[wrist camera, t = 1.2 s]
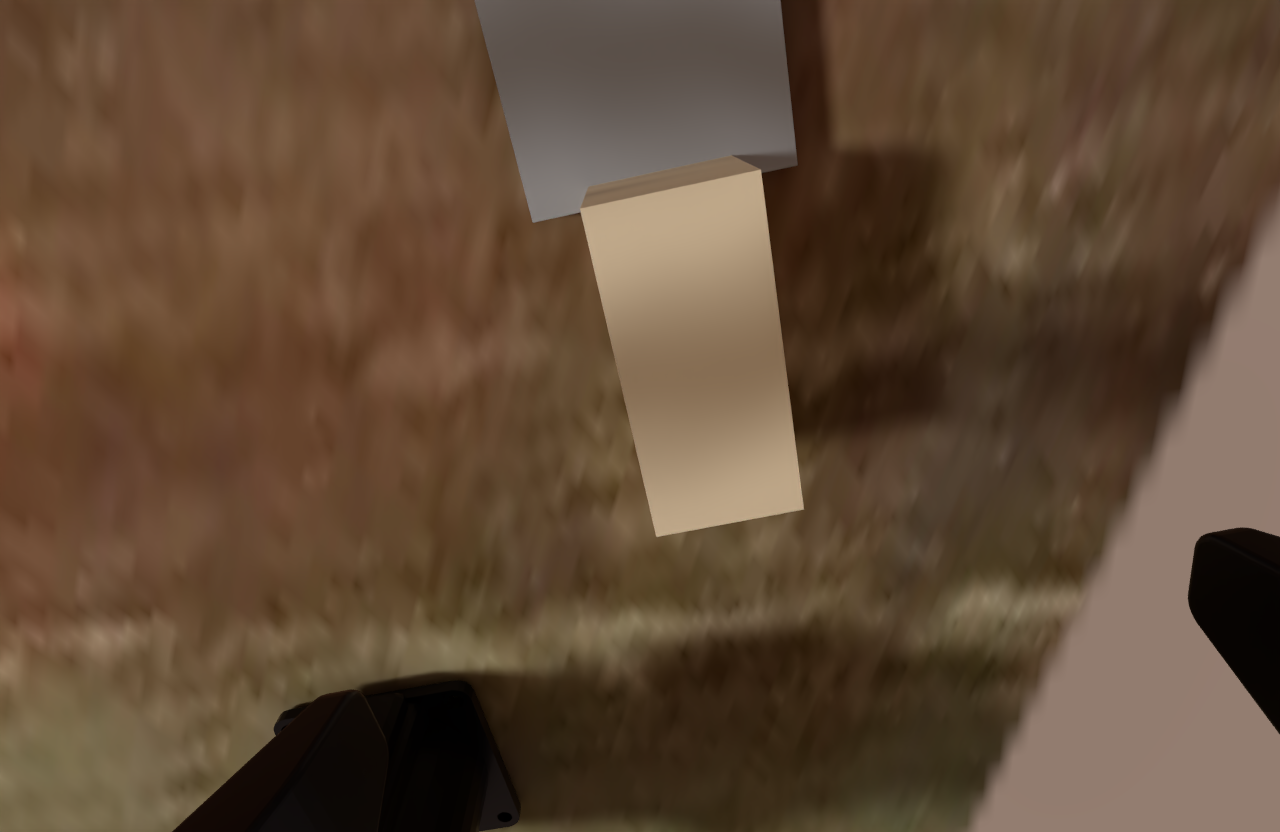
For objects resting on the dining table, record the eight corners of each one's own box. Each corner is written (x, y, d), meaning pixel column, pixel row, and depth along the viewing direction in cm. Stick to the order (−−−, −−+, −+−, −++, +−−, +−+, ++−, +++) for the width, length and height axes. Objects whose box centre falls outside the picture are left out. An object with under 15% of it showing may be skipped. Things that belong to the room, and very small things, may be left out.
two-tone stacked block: (815, 411, 19) (869, 497, 15) (599, 453, 19) (592, 548, 15) (762, -65, 14) (819, -131, 10) (482, 1, 15) (429, -37, 11)
